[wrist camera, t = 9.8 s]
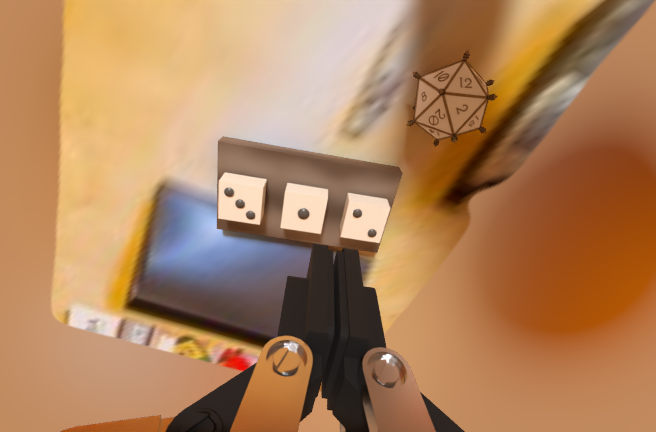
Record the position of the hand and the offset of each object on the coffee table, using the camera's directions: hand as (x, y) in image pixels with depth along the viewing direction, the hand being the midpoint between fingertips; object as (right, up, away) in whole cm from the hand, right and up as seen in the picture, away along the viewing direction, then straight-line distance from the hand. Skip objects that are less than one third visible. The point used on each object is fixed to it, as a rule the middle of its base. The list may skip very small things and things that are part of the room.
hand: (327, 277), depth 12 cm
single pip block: (-3, +4, +28) cm, 29 cm away
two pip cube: (+4, +3, +29) cm, 30 cm away
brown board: (-3, +5, +31) cm, 31 cm away
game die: (+13, +16, +25) cm, 32 cm away
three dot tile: (-10, +5, +28) cm, 30 cm away
